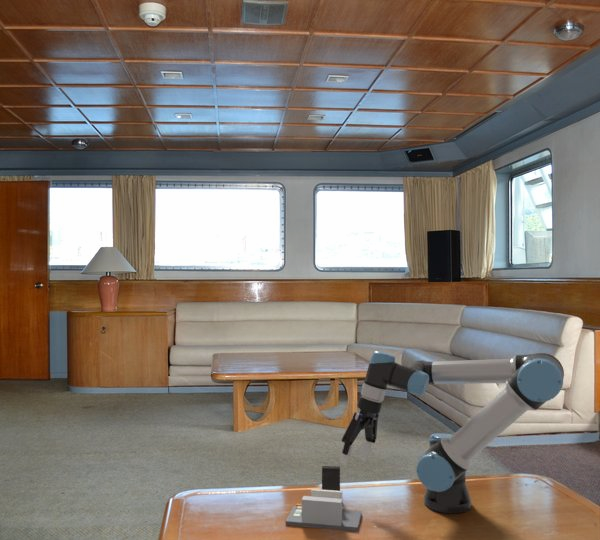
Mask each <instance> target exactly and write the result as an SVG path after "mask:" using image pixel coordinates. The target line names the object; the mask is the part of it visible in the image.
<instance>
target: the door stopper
mask: <svg viewBox="0 0 600 540" xmlns="http://www.w3.org/2000/svg"><path fill="white" fill-rule="evenodd" d="M321 490H334V491H341V467H340V466H331V465H330V466H327V465H325V466H324V465H322V466H321Z"/></svg>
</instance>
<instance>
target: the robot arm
mask: <svg viewBox="0 0 600 540" xmlns="http://www.w3.org/2000/svg"><path fill="white" fill-rule="evenodd" d="M367 367H368V368H367V370H366V374H365V379H364V382H363V384H362V385H361V391H360V396H359V397H358V400H357V401H358V402H357V408H358V409H359V412H356V411H355V412H354V413H353V416H352V419H351V420H350V423H349V425H348V426H347V429H346V430H345V432H344V434H343V435H342V438H341V442H342V443H344V444H343V447H342V451H341V454H340V458H339V460H338V463H339V464H341V465H344V466H346V467H347V466H348V465H349V462H350V458H351V454H352V451H353V447H354V445H353V443H354V442H355V440H356V439H357V437H359V434H360V433H361V431H362V430H364V436H365V439H363V442H362V446H361V448H360V452H359V454H358V455H359V456H358V460H360V461H362V462H364V463H367V460H368V458H369V454H370V450H371V447H372V444H375V443H376V440H377V437H378V436H377V435H378V434H377V433H378V420H379V415H380V412H381V408H382V407H383V406H382V405H383V403H382V402H384V399H385V395H386V392H387V388H388V386H390V387H393V388H395V389H398V390H400V391H404V392H406V393H409V394H411V395H415V396H416V395H417V396H419V397H422V396H424V395H425V393H426V392H427V389H428V386H429V385H460V384H461V385H463V384H464V385H465V384H466V385H468V384H505V388H504V389H502V391H501V392H499V393H498V394H496V396H495V397H494V398H492V399H491V400H490V401H489V402H488V403H487V404H486V405H484V407H482V409H480V410H479V411H478V412H477V413H476V414H475V415H474V416H472V417H471V418H470V419H469V420H468V421H467V422H465V423H464V424H463V425H462V426H461V427H460V428H459V429H458V430H457V431H456V432H455V433H453V434H452V433H432V434H431V435H429V440H428V442H429V448H428V449H427V450H426V451H425V453H424V454H423V455H421V456H420V457H419V458H418V461H417V464H416V475H417V478H418V479H419V481H420V483H421V484H422V485H423V486H424V488H426V490H425V492H424V495H423V503H424V505H425V506H426V508H428V509H431V510H432V511H434V512H437V513H438V512H439V513H442V514H443V513H444V514H461V513H462V514H463V513H466V512H468V511H469V510H470V509H471V508H472V500H471V499H472V498H471V495H470V493H469V489H468V487H467V482H466V479H467V476H466V472H467V471H468V469H470V467H471V460H472V459H473V458H474V457H476V456H477V455H478V454H479V453H481V451H483V449H485V448H486V447H487V446H488V445H489V444H490V443H492V442H493V441H494V440H495V439H496V438H498V436H500V435H501V434H502V433H503V432H504V431H505V430H506V429H508V428H509V427H510V426H511V425H513V423H515V421H517V420H518V419H519V418H520V417H521V416H523V415H524V414H525V413H526V412H527V411H537V410H538V409H540V408H541V407H542V406H543V405H544V404H545V403H547V402H548V401H551V400H552V399H555V398H556V397H557V396H558V395H559V394H560V392H561V391H562V388H563V385H564V376H565V371H564V368H563V365H562V363H561V362H560V360H559V359H558V358H556V357H555V356H553V355H552V354H550V353H545V352H538V353H536V352H535V353H531V354H519V355H517V354H515V355H514V356H513V357H512V358H495V359H493V358H492V359H467V360H466V359H465V360H463V359H462V360H461V359H460V360H440V361H439V360H437V361H436V360H435V361H434V360H433V361H426V360H424V359H423V360H416V361H414V362H412V363H411V364H410V365H408V366H406V365H402V364H399V363H397V362H396V356H395V355H393V354H390V353H387V352H383V351H379V350H374V351H373V352H372V354H371V357H370V361H369V362H368V366H367Z"/></svg>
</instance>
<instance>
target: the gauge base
mask: <svg viewBox="0 0 600 540" xmlns="http://www.w3.org/2000/svg"><path fill="white" fill-rule="evenodd" d="M301 504H302V507H299V506H296V505H293V507H292V508H291V510H290V512H289V514H288V516H287V518H286V520H285V526H291V527H303V528H305V527H306V528H315V529H325V528H326V529H327V530H336V531H337V530H338V531H349V532H359V531H358V530H359V528H360V527H359V526H360V522H361V519H362V514H363V513H362V511H361V510H351V509H350V510H349V509H343V498H342V499H337V498H324V497H312V496H311V495H303V496H302V497H301ZM326 529H325V530H326Z"/></svg>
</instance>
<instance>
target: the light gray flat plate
mask: <svg viewBox="0 0 600 540" xmlns="http://www.w3.org/2000/svg"><path fill="white" fill-rule="evenodd" d="M310 496H312V497H324V498H337V499H342V500H343V491H342V490H340V491H334V490H322V488H321V489H319V488H311V489H310ZM295 506H299V507H302V503H295Z"/></svg>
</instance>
